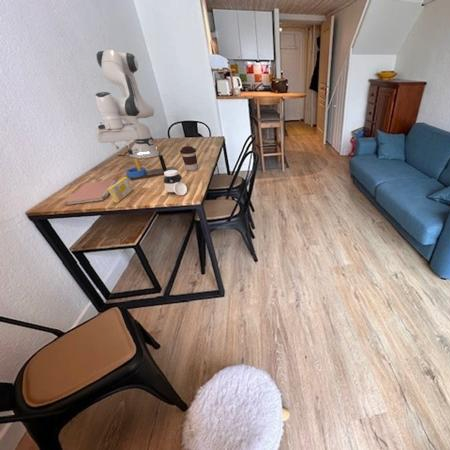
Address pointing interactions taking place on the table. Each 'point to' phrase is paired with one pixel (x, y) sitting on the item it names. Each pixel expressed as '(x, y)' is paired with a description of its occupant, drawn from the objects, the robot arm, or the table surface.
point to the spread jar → (174, 183)
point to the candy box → (120, 189)
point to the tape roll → (136, 172)
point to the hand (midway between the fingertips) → (123, 148)
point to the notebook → (91, 192)
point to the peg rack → (152, 172)
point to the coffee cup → (189, 157)
